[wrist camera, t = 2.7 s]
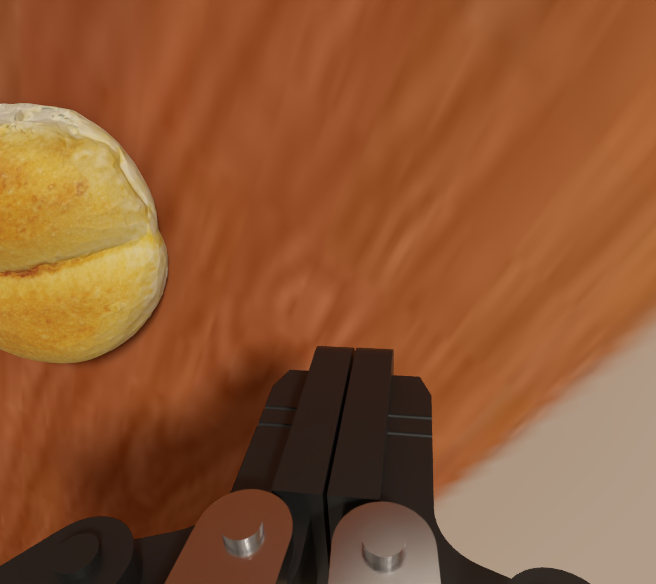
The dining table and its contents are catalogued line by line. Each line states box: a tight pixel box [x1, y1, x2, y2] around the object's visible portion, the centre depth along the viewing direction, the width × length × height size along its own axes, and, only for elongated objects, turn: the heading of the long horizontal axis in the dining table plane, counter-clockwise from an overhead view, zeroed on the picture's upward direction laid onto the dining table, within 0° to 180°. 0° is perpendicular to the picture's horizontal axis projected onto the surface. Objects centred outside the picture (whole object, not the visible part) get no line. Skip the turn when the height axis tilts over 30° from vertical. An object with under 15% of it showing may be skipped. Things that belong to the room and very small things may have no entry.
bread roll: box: [0, 103, 168, 363], centre depth 17 cm, size 8×9×4 cm
